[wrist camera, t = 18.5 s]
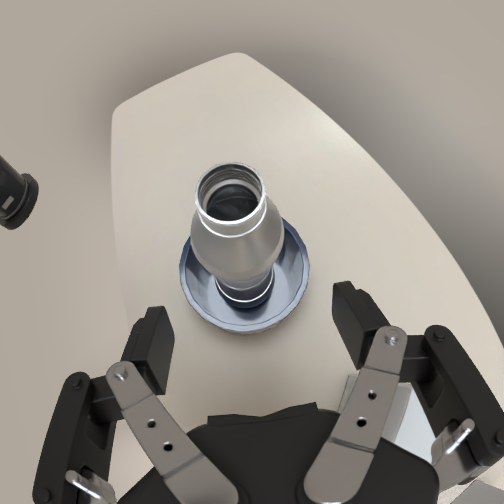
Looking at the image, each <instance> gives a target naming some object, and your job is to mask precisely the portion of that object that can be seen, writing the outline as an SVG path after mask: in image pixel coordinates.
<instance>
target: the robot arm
mask: <svg viewBox="0 0 504 504" xmlns="http://www.w3.org/2000/svg"><path fill="white" fill-rule="evenodd" d="M28 189H29V184H28V181H27V180H26V179H25V178H24V177H22V176H21V175H20V174H19V173H18V172H17V171H16V170H15V169H14V168H13V167H12V166H11V165H10V164H9V163H8V162H7V161H6V160H5V159H4V158H3V157H1V156H0V217H1V218H2V219H4V220H9V219H11V218H12V217H14V216H15V215H16V214H17V213H18V211H19V210H20V209H21V207H22V206H23V204H24V202H25V200H26V197H27V194H28ZM332 316H333V320H334V323H335V325H336V327H337V329H338V331H339V333H340V335H341V337H342V339H343V342H344V344H345V346H346V348H347V350H348V352H349V354H350V357H351V359H352V361H353V363H354V365H355V368H356V370H359V369H361V370H360V372H359V375H358V377H357V379H356V382H355V384H354V386H353V389H352V391H351V393H350V395H349V398H348V400H347V402H346V404H345V406H344V408H343V410H342V413H339V412H336V411H332V410H326V409H318V408H317V405H316V402H313V403H308V404H303V405H298V406H292V407H288V408H285V409H283V410H280V411H278V412H275V413H272V414H269V415H267V416H263V417H257V416H246V415H237V414H229V415H216V416H208V423H207V424H203V425H201V426H198V427H196V428H194V429H192V430H191V431H189V432H188V433H187V434H185V433H184V431H183V430H182V429H181V428H180V427H179V425H178V424H177V423H176V422H175V420H174V419H173V418H172V416H171V415H170V414H169V413H168V411H167V410H166V409H165V407H164V406H163V405H162V403H161V402H160V401H159V399H158V398H157V397H156V396H157V395H165V392H166V386H167V380H168V375H169V369H170V363H171V358H172V353H173V347H174V341H175V338H174V332H173V328H172V326H171V323H170V320H169V317H168V314H167V311H166V309H165V307H164V306H157V307H149V308H148V309H147V312H146V314H145V317H144V318H140V319H139V320H138V321H137V322H136V323H135V324H134V325H133V328H132V330H131V335H130V336H129V338H128V341H127V344H126V346H125V349H124V352H123V355H122V357H121V360H120V362H117V363H115V364H114V365H112V366H111V367H110V368H109V369H108V371H107V373H106V375H105V376H101V377H97V378H93V379H90V377H89V376H88V375H87V374H86V373H84V372H76V373H73V374H71V375H70V376H69V377H68V378H67V379H66V381H65V383H64V385H63V388H62V390H61V393H60V396H59V398H58V401H57V404H56V407H55V410H54V413H53V416H52V419H51V422H50V425H49V428H48V431H47V435H46V438H45V441H44V445H43V449H42V452H41V456H40V460H39V464H38V468H37V473H36V477H35V481H34V486H33V492H32V497H33V501H34V503H35V504H437V500H438V495H439V493H441V492H443V491H445V490H447V489H449V488H451V487H452V486H454V485H456V484H458V485H464V484H467V483H469V482H471V481H472V480H473V479H475V478H476V477H478V476H479V475H480V474H482V473H483V472H485V471H486V470H487V469H488V468H490V467H491V466H492V465H494V464H495V463H496V462H497V461H499V460H500V459H501V458H502V457H503V456H504V412H503V410H502V408H501V407H500V405H499V403H498V402H497V400H496V398H495V396H494V395H493V393H492V391H491V390H490V388H489V387H488V385H487V383H486V382H485V380H484V379H483V377H482V375H481V374H480V372H479V371H478V369H477V368H476V366H475V365H474V363H473V362H472V360H471V359H470V357H469V356H468V354H467V353H466V352H465V350H464V349H463V347H462V346H461V344H460V343H459V342H458V340H457V339H456V338H455V336H454V335H453V333H452V332H451V331H450V330H449V329H448V328H446V327H444V326H441V325H432V326H430V327H428V328H427V329H426V331H425V333H424V335H407V334H406V333H405V332H404V331H403V330H402V329H401V328H399V327H396V326H391V325H390V323H389V322H388V320H387V319H386V317H385V316H384V315H383V313H382V312H381V310H380V309H379V308H378V306H377V305H376V303H375V302H374V300H373V299H372V298H371V296H370V295H369V294H368V293H366V292H365V291H363V290H362V289H358V290H356V289H355V288H354V286H353V285H352V283H351V282H350V281H344V282H338V283H334V285H333V298H332ZM405 382H410V383H411V385H412V387H413V389H414V391H415V393H416V396H417V398H418V400H419V402H420V404H421V406H422V409H423V411H424V413H425V415H426V417H427V420H428V422H429V424H430V427H431V429H432V431H433V434H434V436H435V438H436V439H435V440H434V442H433V444H432V446H431V456H432V463H431V464H430V463H429V462H428V461H426V460H425V459H423V458H421V457H419V456H417V455H415V454H413V453H411V452H409V451H407V450H405V449H403V448H402V447H400V446H398V445H396V444H394V443H392V442H391V441H389V440H387V439H385V438H383V437H382V436H381V435H382V432H383V429H384V426H385V424H386V421H387V418H388V415H389V412H390V409H391V406H392V402H393V399H394V396H395V393H396V389H397V386H398V383H405ZM122 419H125V420H126V422H127V424H128V425H129V427H130V429H131V430H132V432H133V434H134V435H135V437H136V439H137V440H138V442H139V444H140V445H141V447H142V448H143V450H144V452H145V453H146V454H147V456H148V458H149V459H150V460H151V462H152V463H153V465H154V467H153V468H152V469H151V470H150V471H149V472H148V473H147V474H146V475H145V476H144V477H143V478H142V479H141V480H140V481H138V482H137V483H136V485H134V486H133V487H132V488H131V489H130V490H129V491H128V492H127V493H126V494H125V495H124V496H123V497H121V498H120V500H119V501H118V502H116V497H115V491H114V489H113V487H112V486H111V484H109V483H108V476H109V468H110V461H111V453H112V447H113V440H114V434H115V429H116V423H117V421H118V420H122Z"/></svg>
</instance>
